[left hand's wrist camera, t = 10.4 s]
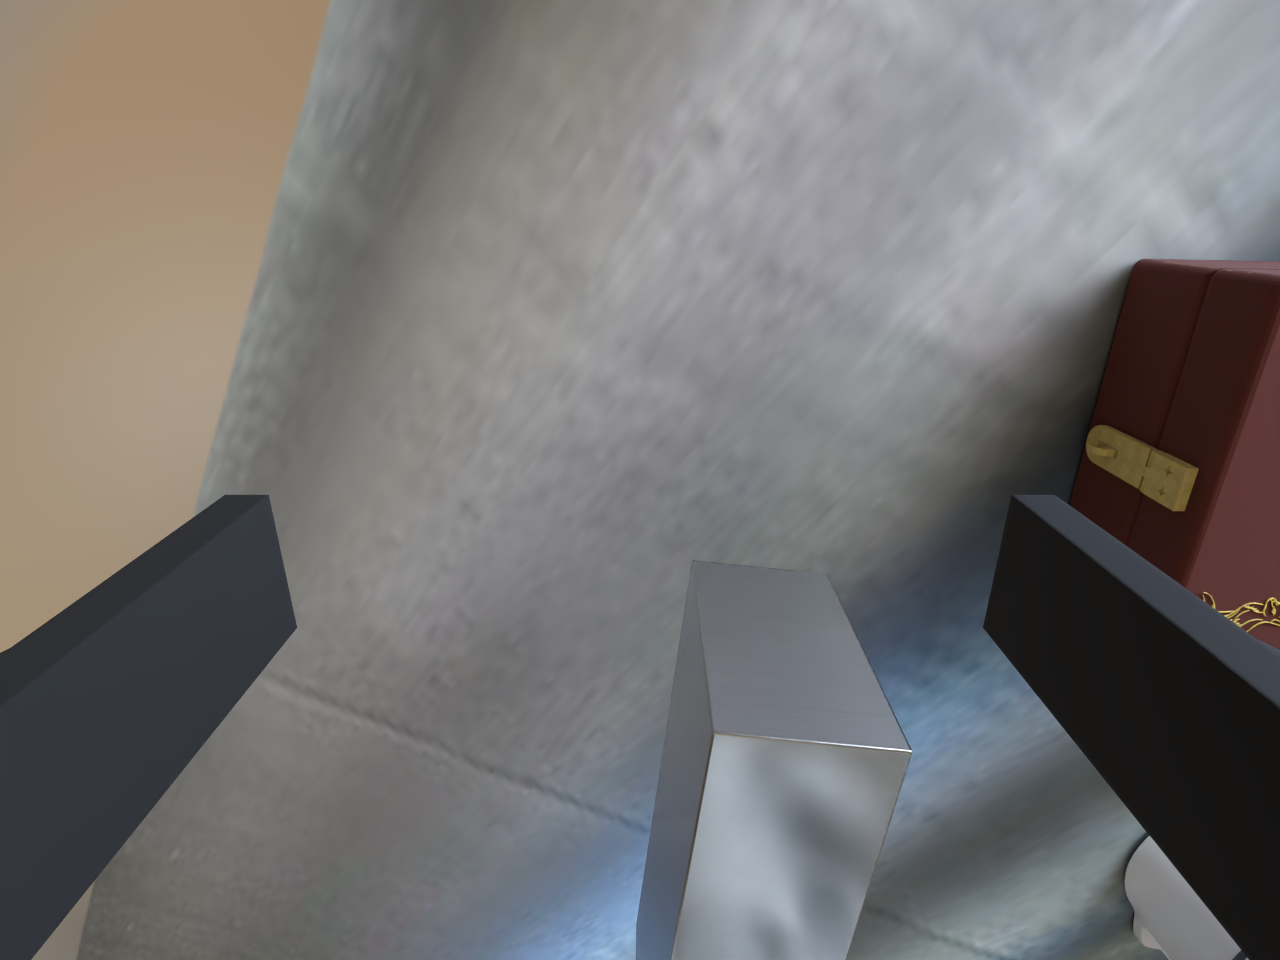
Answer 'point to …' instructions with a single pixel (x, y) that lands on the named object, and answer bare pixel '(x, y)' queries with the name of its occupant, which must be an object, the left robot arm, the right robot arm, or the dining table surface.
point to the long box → (767, 775)
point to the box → (1195, 434)
